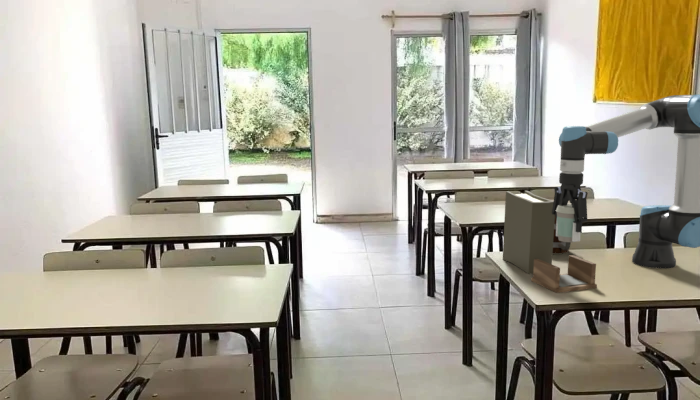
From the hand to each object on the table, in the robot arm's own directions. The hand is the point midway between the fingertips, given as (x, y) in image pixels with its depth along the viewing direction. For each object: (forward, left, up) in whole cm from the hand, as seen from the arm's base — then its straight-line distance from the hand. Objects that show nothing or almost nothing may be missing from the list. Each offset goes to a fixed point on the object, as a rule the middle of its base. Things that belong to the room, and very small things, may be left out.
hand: (567, 238), depth 198 cm
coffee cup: (0, 0, -1) cm, 1 cm away
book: (-2, -24, -17) cm, 30 cm away
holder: (0, 0, -16) cm, 16 cm away
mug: (-27, -39, -17) cm, 50 cm away
